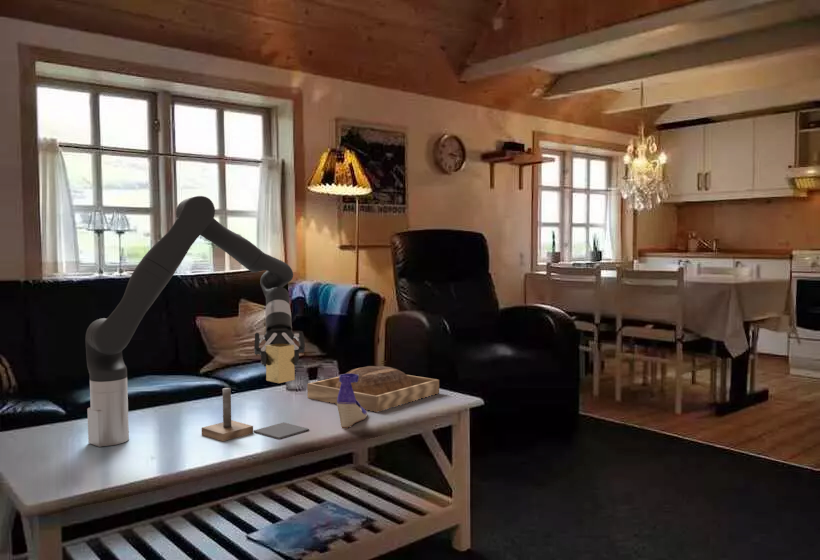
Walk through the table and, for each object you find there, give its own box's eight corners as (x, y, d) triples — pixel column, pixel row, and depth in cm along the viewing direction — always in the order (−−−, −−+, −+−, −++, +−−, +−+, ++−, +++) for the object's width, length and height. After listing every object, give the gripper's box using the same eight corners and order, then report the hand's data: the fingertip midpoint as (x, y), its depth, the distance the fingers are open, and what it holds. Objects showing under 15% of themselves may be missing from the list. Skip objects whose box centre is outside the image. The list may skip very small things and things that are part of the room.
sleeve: (278, 383, 185) (278, 347, 184) (266, 380, 189) (265, 345, 188) (294, 379, 189) (294, 344, 189) (282, 377, 193) (281, 342, 192)
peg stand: (223, 441, 181) (222, 394, 180) (201, 434, 187) (200, 389, 186) (253, 433, 188) (252, 388, 188) (231, 427, 195) (230, 383, 194)
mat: (278, 439, 182) (278, 437, 182) (253, 432, 189) (253, 430, 189) (309, 430, 191) (309, 428, 191) (283, 424, 198) (283, 422, 198)
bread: (321, 394, 237) (320, 367, 236) (379, 383, 255) (379, 358, 254) (367, 407, 218) (366, 377, 217) (426, 394, 236) (426, 367, 235)
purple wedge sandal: (374, 413, 210) (373, 365, 209) (352, 430, 191) (352, 378, 190) (349, 411, 212) (349, 364, 211) (325, 428, 193) (325, 376, 192)
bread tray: (376, 412, 211) (376, 396, 210) (307, 397, 231) (307, 383, 231) (439, 393, 236) (439, 379, 236) (372, 382, 256) (372, 369, 256)
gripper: (253, 311, 194) (254, 357, 183) (303, 310, 197) (306, 355, 186) (253, 327, 199) (254, 373, 189) (302, 325, 202) (305, 370, 192)
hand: (280, 364), depth 188 cm, fingers closed on sleeve, 8 cm apart
